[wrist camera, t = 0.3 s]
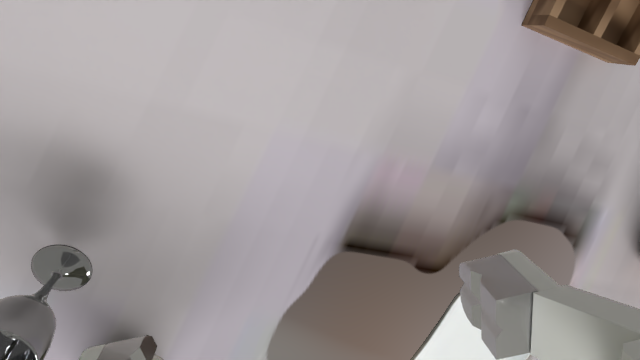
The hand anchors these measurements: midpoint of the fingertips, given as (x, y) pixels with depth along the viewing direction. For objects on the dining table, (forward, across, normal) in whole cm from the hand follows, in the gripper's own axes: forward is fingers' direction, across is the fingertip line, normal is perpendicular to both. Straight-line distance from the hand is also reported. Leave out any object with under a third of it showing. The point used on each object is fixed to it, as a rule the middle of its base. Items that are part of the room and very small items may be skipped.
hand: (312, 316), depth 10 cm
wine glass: (+38, +33, +16) cm, 52 cm away
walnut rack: (+40, -40, -2) cm, 57 cm away
